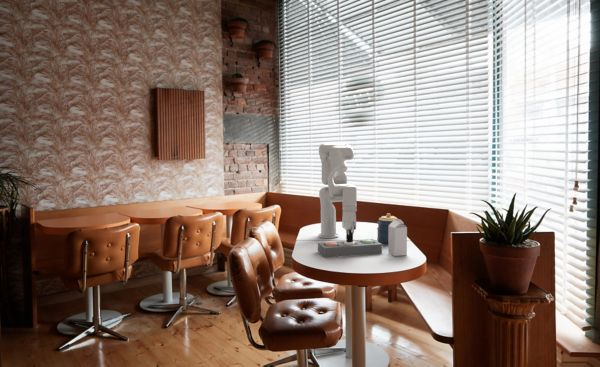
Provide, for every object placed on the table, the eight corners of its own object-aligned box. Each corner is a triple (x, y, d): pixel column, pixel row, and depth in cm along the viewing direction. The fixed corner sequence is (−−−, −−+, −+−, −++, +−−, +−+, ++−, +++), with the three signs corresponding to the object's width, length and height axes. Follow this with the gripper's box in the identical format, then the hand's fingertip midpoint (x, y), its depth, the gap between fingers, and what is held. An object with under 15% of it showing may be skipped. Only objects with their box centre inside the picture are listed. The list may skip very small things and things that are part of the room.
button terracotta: (324, 247, 228) (324, 242, 228) (334, 246, 229) (334, 241, 229) (327, 249, 222) (327, 244, 222) (338, 248, 223) (338, 243, 223)
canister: (399, 245, 243) (400, 215, 241) (376, 244, 245) (377, 214, 244) (399, 240, 255) (399, 211, 254) (377, 239, 258) (377, 211, 256)
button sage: (360, 244, 233) (360, 239, 232) (370, 243, 234) (370, 238, 234) (364, 246, 227) (364, 242, 227) (375, 246, 228) (375, 241, 228)
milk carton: (394, 256, 219) (394, 220, 217) (388, 253, 226) (388, 218, 224) (406, 255, 221) (407, 219, 219) (400, 252, 228) (400, 217, 226)
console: (317, 251, 231) (317, 242, 230) (372, 247, 238) (372, 238, 238) (324, 257, 218) (324, 248, 218) (382, 253, 226) (382, 244, 225)
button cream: (342, 245, 230) (342, 240, 230) (352, 244, 232) (352, 240, 231) (346, 248, 224) (346, 243, 224) (356, 247, 226) (356, 242, 226)
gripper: (338, 206, 232) (338, 239, 234) (347, 210, 218) (347, 245, 219) (351, 206, 234) (351, 238, 236) (361, 209, 220) (361, 244, 221)
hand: (349, 241), depth 228 cm, fingers closed
